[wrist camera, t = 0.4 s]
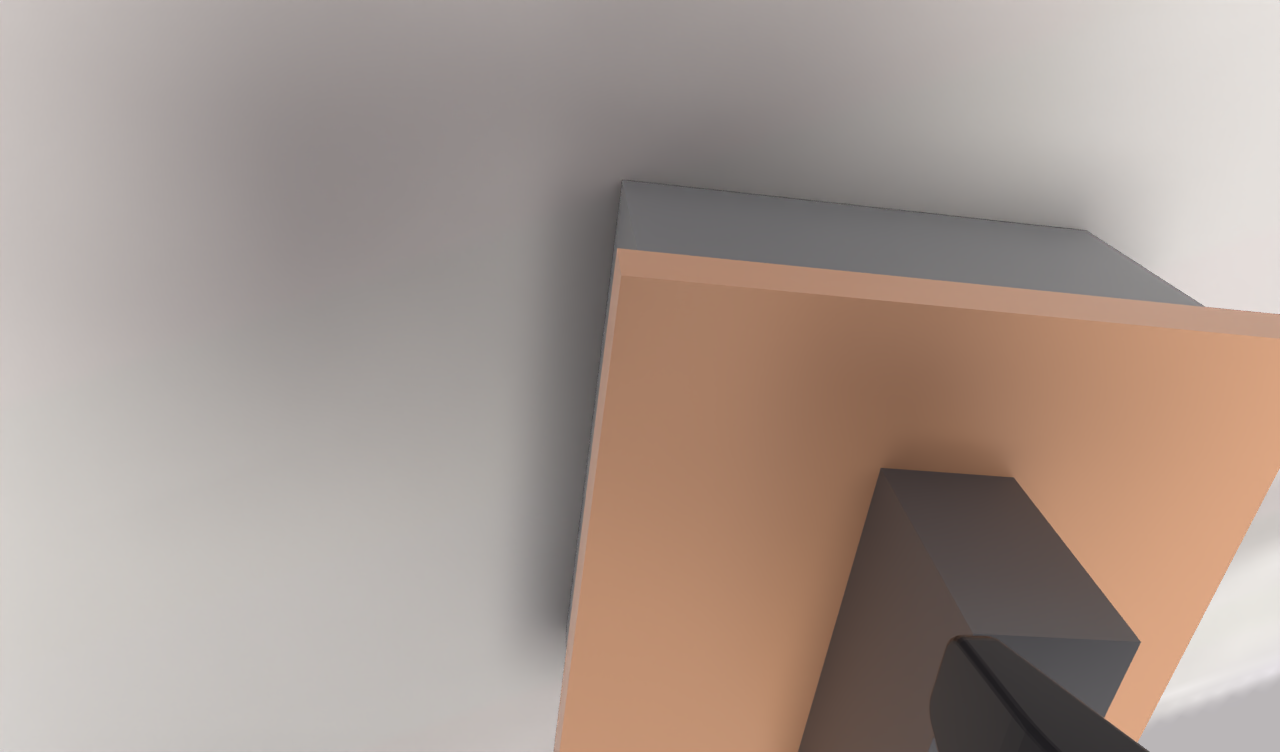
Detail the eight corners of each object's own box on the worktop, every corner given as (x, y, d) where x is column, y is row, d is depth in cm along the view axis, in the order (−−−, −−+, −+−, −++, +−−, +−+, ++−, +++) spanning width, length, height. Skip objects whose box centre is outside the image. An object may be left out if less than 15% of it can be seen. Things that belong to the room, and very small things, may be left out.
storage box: (936, 648, 28) (1025, 827, 22) (565, 631, 26) (567, 817, 21) (1087, 231, 22) (1254, 338, 17) (622, 179, 21) (643, 280, 15)
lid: (1020, 806, 24) (1159, 1083, 18) (543, 794, 22) (538, 1092, 17) (1255, 294, 17) (1577, 480, 12) (614, 228, 16) (641, 405, 10)
